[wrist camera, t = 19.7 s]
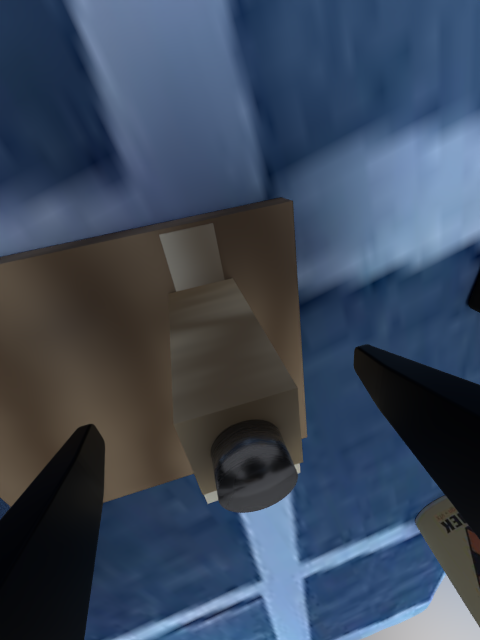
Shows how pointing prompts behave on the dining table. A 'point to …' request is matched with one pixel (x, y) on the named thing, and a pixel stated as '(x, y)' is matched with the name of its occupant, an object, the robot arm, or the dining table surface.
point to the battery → (475, 298)
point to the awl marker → (232, 399)
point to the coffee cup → (454, 549)
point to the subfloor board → (128, 337)
